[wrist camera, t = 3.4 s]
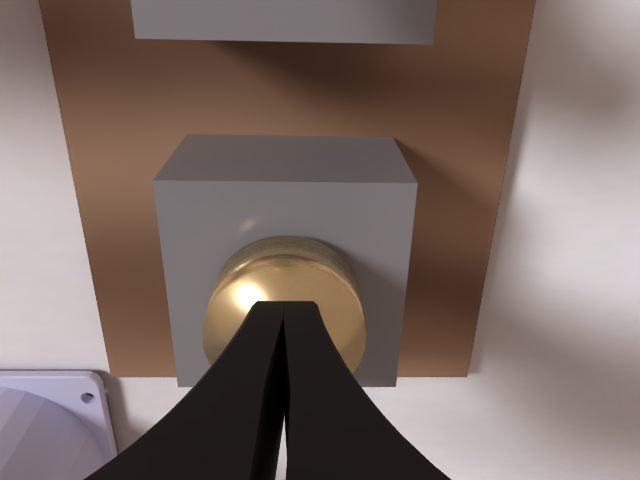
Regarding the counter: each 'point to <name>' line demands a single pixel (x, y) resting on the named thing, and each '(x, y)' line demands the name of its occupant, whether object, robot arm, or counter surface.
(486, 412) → the counter surface
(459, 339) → the walnut board
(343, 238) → the twin gray blocks
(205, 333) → the plunger
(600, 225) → the counter surface
